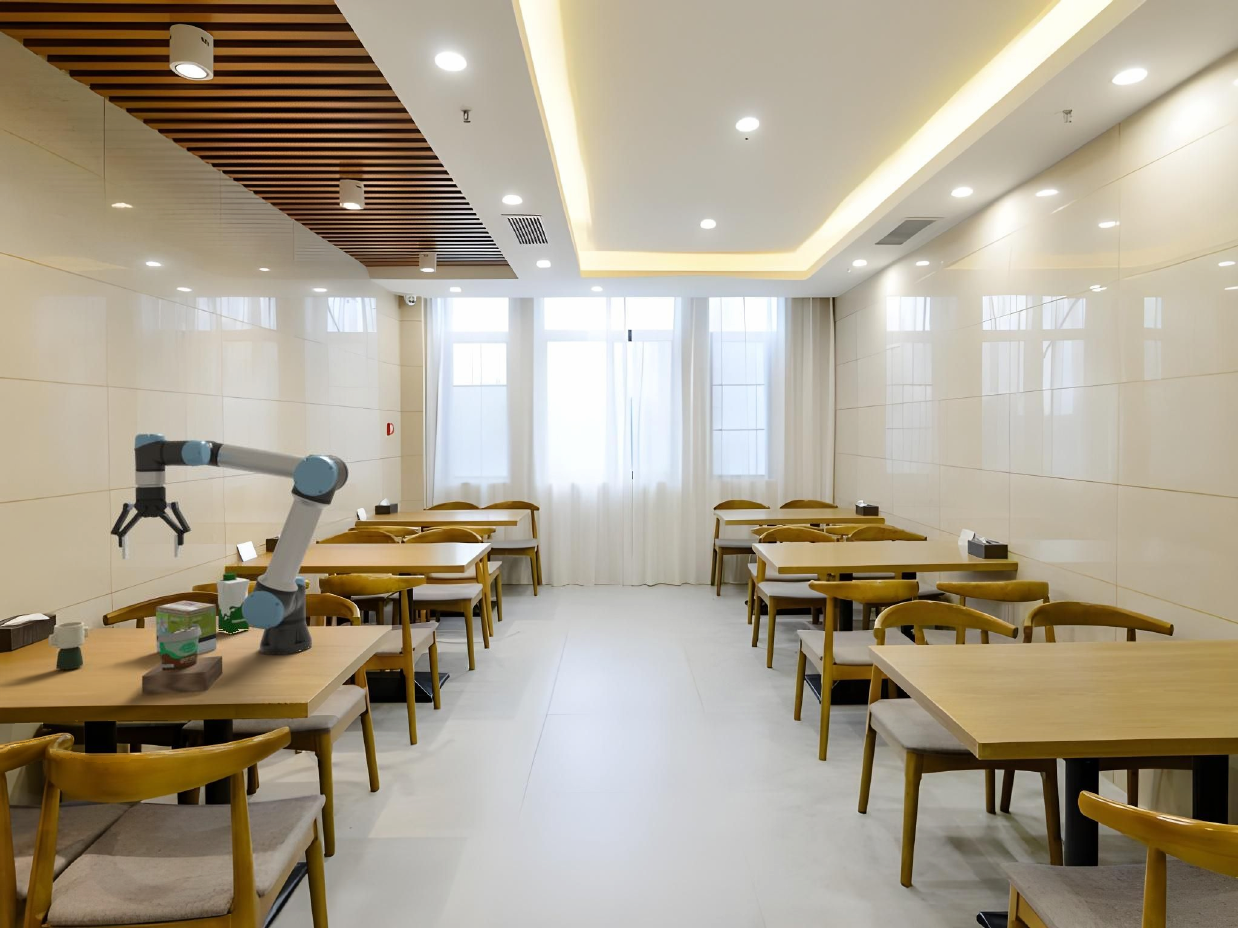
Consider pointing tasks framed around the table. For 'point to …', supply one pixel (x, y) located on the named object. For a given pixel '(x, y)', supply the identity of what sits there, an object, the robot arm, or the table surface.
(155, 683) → the walnut plinth
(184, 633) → the food container
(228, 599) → the milk carton
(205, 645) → the tea box
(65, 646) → the character mug
